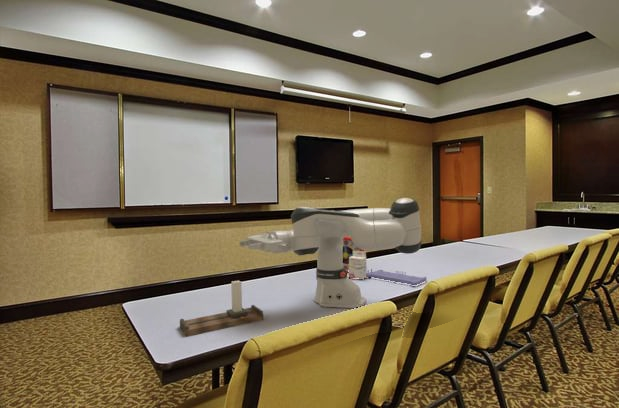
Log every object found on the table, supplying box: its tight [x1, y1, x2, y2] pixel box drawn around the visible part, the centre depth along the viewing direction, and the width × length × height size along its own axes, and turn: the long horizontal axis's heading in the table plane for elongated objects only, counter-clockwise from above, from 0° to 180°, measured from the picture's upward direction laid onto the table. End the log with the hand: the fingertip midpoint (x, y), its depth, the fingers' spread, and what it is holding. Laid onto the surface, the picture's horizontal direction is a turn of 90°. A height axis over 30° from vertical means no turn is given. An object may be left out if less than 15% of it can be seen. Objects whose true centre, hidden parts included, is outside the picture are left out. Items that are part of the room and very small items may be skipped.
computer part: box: [366, 268, 427, 285], centre depth 189 cm, size 30×4×15 cm
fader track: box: [179, 304, 264, 337], centre depth 131 cm, size 28×10×3 cm, turn 121°
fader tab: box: [226, 280, 248, 318], centre depth 133 cm, size 6×6×12 cm
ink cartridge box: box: [348, 251, 367, 279], centre depth 192 cm, size 9×5×15 cm, turn 57°
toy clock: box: [343, 236, 365, 270], centre depth 210 cm, size 20×6×20 cm, turn 70°
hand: (244, 245), depth 134 cm, fingers open, 8 cm apart
